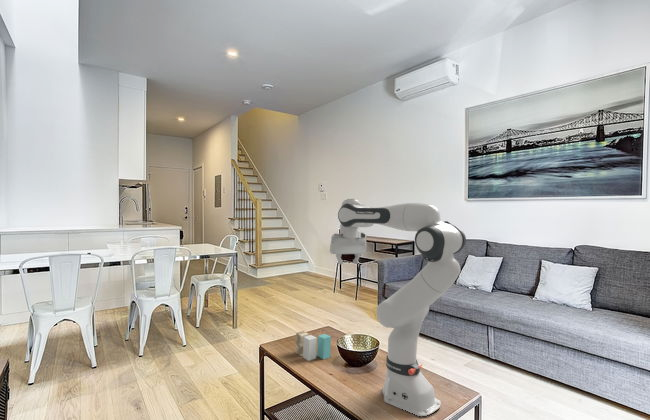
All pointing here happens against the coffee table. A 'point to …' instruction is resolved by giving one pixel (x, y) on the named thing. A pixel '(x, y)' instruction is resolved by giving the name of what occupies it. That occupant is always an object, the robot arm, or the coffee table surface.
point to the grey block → (309, 347)
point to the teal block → (324, 346)
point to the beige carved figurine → (300, 342)
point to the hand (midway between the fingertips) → (348, 263)
